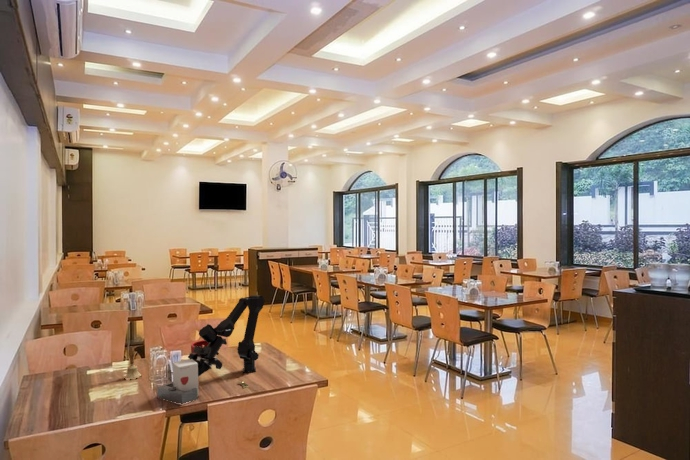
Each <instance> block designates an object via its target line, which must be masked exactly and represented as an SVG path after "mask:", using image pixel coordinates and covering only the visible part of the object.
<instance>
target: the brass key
mask: <svg viewBox="0 0 690 460" xmlns="http://www.w3.org/2000/svg"><path fill="white" fill-rule="evenodd" d="M237 384H238V385H241V386H242V388H243V389H247V388H249V384H247V383H245V381H244V380H240V381H238V382H237Z"/></svg>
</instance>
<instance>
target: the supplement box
mask: <svg viewBox="0 0 690 460" xmlns="http://www.w3.org/2000/svg"><path fill="white" fill-rule="evenodd" d="M172 382H173V387H176V389H179V390H182V391H188V390H190V389H193V388H197V397H199V395H200V394H199V377H198V363H197V362H195V361H194V360H193V359H189V358H188V359H183V360H179V361H173V362H172Z"/></svg>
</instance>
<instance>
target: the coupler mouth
mask: <svg viewBox="0 0 690 460" xmlns="http://www.w3.org/2000/svg"><path fill="white" fill-rule="evenodd" d="M158 397H159V398H161V399H160V400H163V399H165V400H164V401H166V400H168V401H167V402H169V401H172V402H176V403H181V404H183V403H186V402H189V401H193V400H195V401H197V400H198V396H197V388H193V389H190V390H188V391H182V390H179V389H176V387H173V381H170V382H167V383H165V384H162V385H159V386H157V398H158ZM159 398H158V399H159ZM196 399H197V400H196ZM172 402H171V403H172ZM193 402H194V401H193Z"/></svg>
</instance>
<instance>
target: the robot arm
mask: <svg viewBox="0 0 690 460" xmlns="http://www.w3.org/2000/svg"><path fill="white" fill-rule="evenodd" d="M264 306H265V298H264V296H263V295H258V294H252V295H250V296H246V297H240V298H239V299H238V302H237V303H236V304H235V307H233V309H232V311H230V313H229V314H228V315H227V317H226V318H225V319H223V320H222V321H220V323H219V324H217V326H216V327H213V325H211V324H209V323H208V324H206V325H205V326H204V327H202V328H201V329H199V332H198V336H200V338H202V339H203V340H205V341H206V342H208V343H209V342H210V343H209V344H208V346H204V345H203V347H198V346H195V347H194V351H193V353H191V352H190V353H189V354H188V356H187V358H188V359H193V360H194V361H195V362H197V363H198V378H199V377H200V376H202V375H203V374H205V373H206V372H208V371H209V370H212V368H213V366H215V369H217V370H221V369H222V368H223V362H222V361H220V360H219V359H218V358H217V357H216V356H219V354H220V353H219V350H220V349H221V347H222V346H223V345H227V344H228V343H227V339H226V338H229V337H231V335H232V334H233V332H234V330H235V325H236V323H237V321H239V318H240V317H241V316H242V314H244V311H245V310H246V309H247V308H248V311H249V313H248V315H247V321H246V325H245V329H244V331H245V332H244V335H243V339H242V340H241V341H239V342H238V346H237V348H236V350H237V355H238V356H239V358H240V359H241V360H243V367H242V373H243V374H246V373H254V372H257V368H256V361H257V360H258V359H259V356H260V354H259V353H258V352H257V351H256V349H255V348H256V345H255V342H254V338H255V334H256V328H257V324H258V318H259V315H260V314H259V313H260V312H261V311H262V309H263V308H264ZM223 337H225V338H223ZM195 353H197V354H199V355H197V354H195ZM200 356H201V357H200Z"/></svg>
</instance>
